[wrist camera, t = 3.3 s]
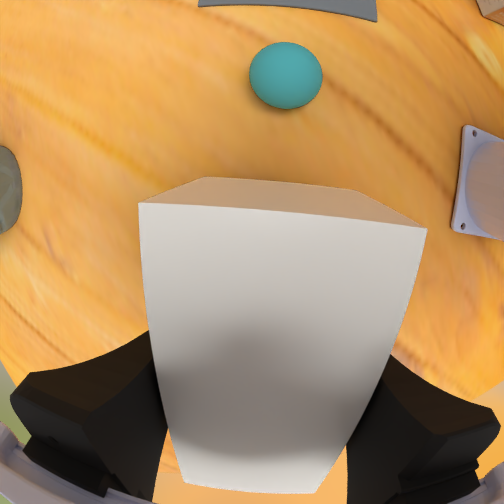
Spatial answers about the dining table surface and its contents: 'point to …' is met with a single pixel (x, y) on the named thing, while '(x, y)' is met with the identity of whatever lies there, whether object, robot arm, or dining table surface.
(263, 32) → the dining table surface
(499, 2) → the small box
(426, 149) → the dining table surface
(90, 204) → the dining table surface
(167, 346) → the white rectangular block
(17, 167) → the grey green tumbler
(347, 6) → the thin grey square plate
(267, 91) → the ball
